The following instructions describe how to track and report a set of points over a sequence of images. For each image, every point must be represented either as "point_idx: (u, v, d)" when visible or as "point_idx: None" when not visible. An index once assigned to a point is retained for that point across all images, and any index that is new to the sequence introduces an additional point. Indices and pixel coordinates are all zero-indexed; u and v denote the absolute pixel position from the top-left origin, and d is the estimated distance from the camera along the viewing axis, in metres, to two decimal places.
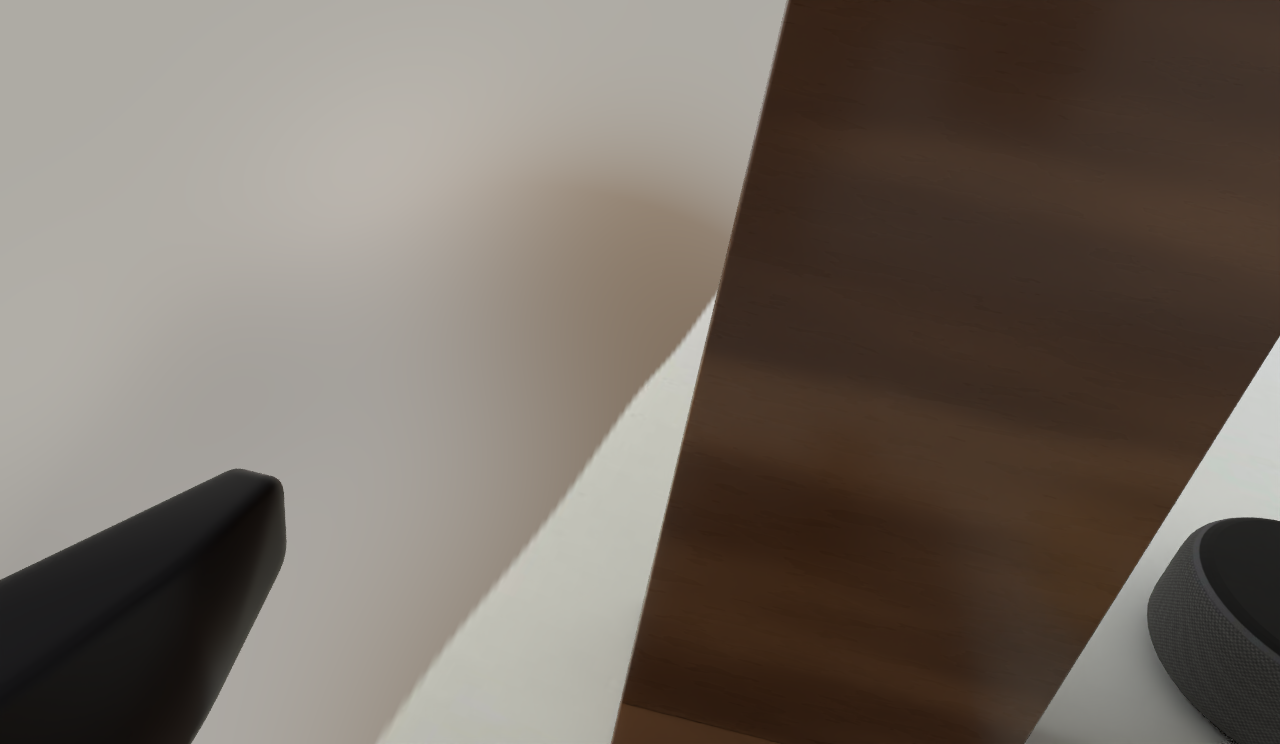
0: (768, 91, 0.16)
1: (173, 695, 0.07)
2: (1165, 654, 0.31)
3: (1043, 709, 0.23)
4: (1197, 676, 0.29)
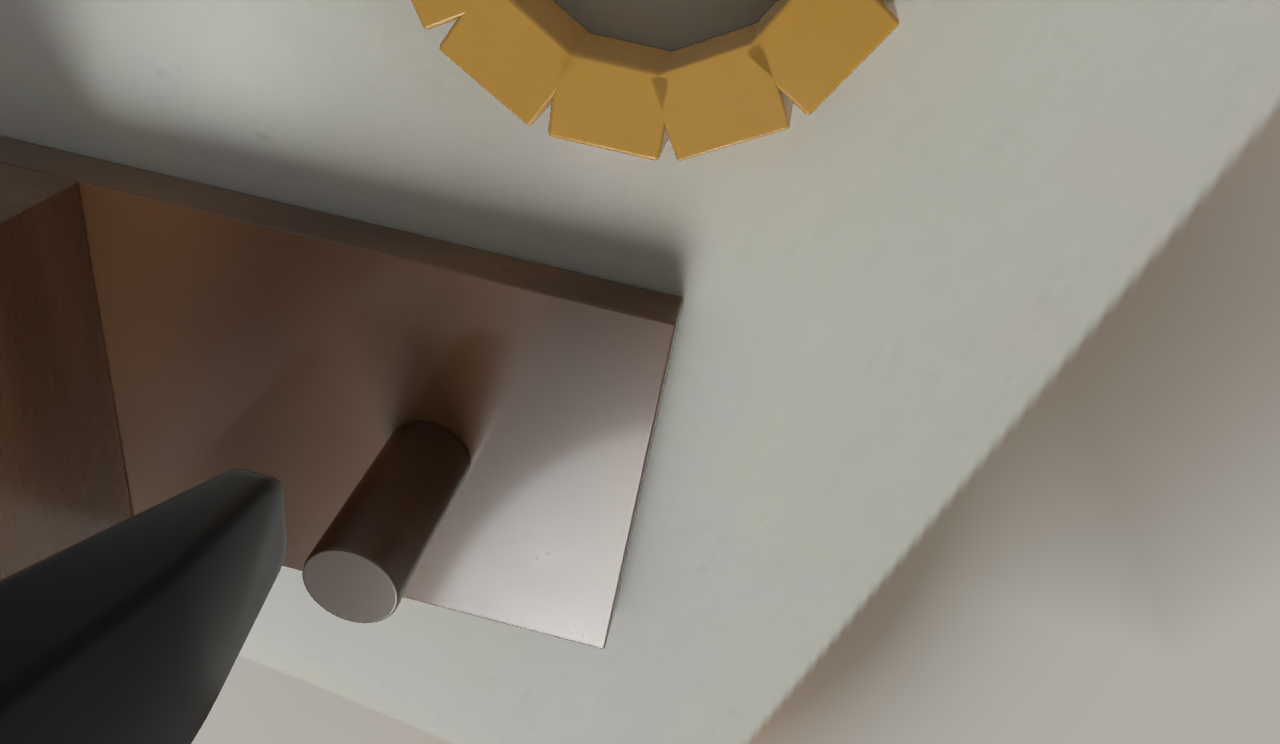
0: None
1: (173, 695, 0.07)
2: None
3: None
4: None
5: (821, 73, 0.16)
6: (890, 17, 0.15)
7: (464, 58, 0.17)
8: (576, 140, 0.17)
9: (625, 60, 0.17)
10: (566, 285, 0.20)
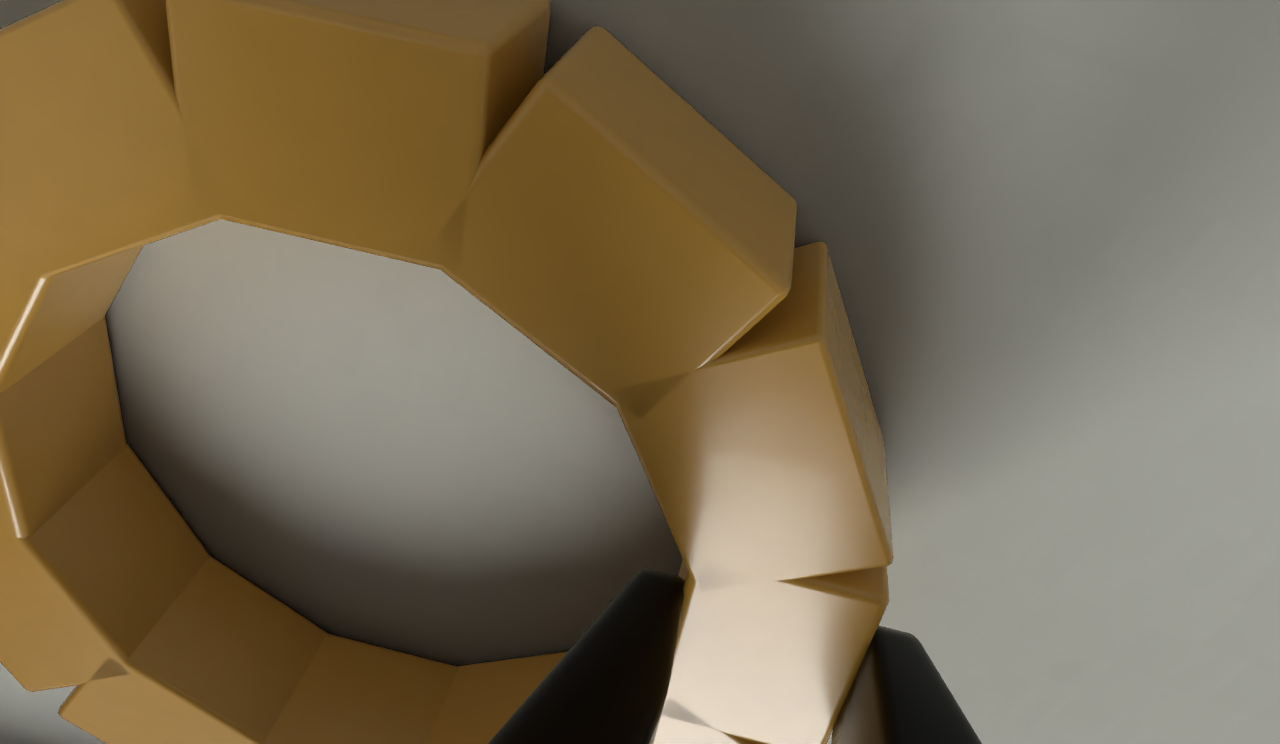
0: None
1: None
2: None
3: None
4: None
5: None
6: None
7: (99, 731, 0.10)
8: None
9: None
10: None
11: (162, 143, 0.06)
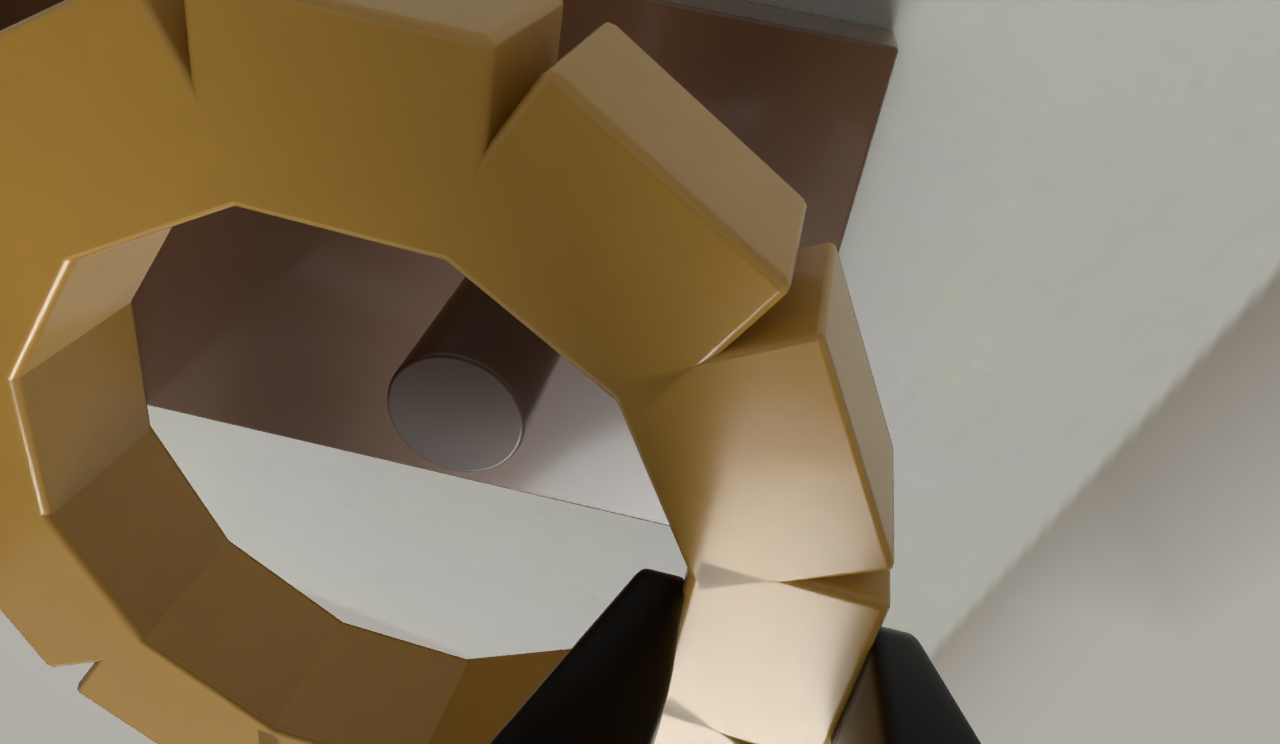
0: None
1: None
2: None
3: None
4: None
5: None
6: None
7: (115, 708, 0.11)
8: None
9: (363, 733, 0.10)
10: (736, 8, 0.14)
11: (179, 130, 0.07)
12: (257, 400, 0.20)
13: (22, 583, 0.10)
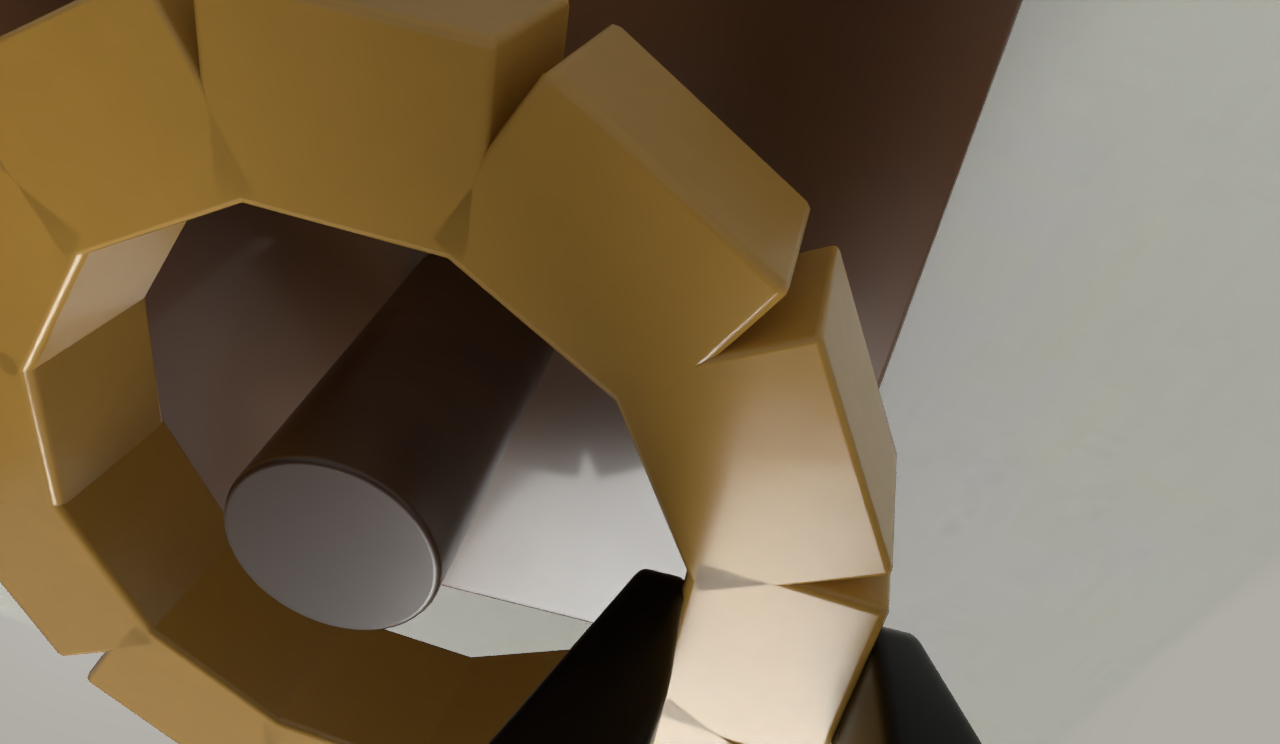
0: None
1: None
2: None
3: None
4: None
5: None
6: None
7: (124, 697, 0.11)
8: None
9: (367, 728, 0.10)
10: None
11: (188, 127, 0.07)
12: None
13: (35, 572, 0.10)
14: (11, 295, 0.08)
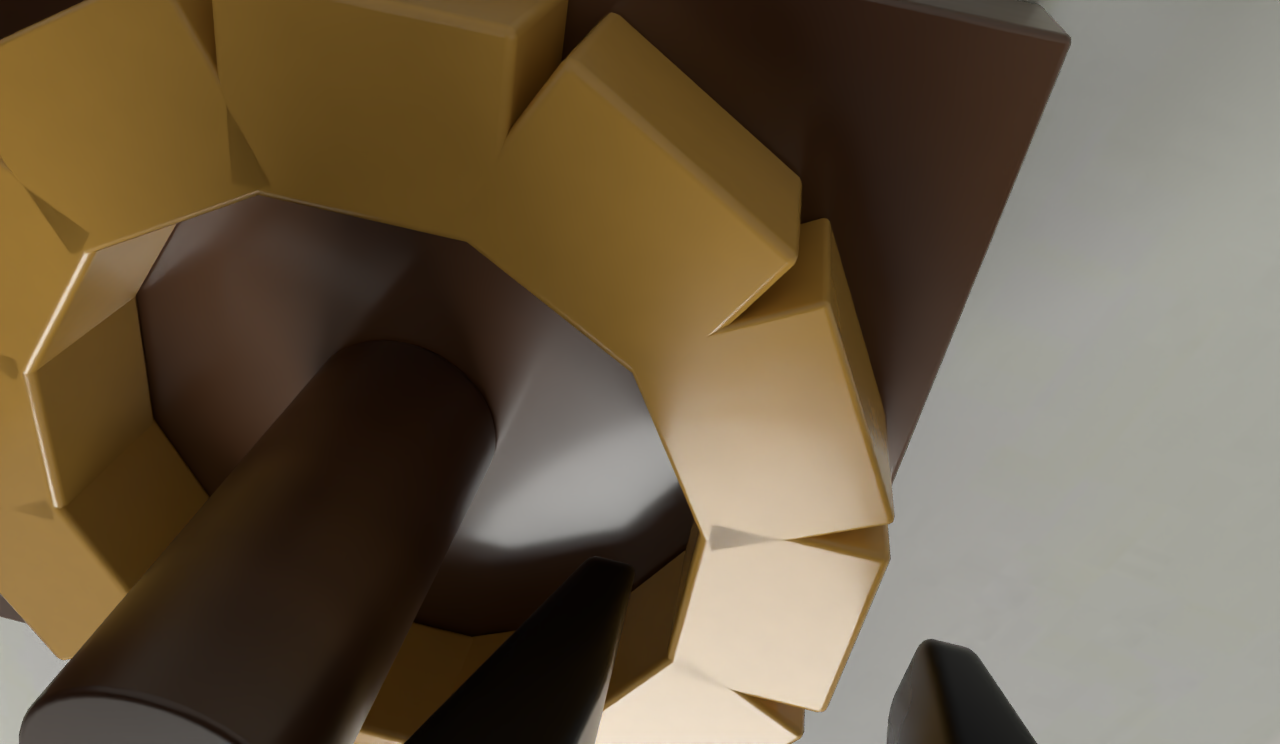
0: None
1: None
2: None
3: None
4: None
5: None
6: (788, 728, 0.09)
7: None
8: None
9: (378, 711, 0.10)
10: None
11: (204, 123, 0.07)
12: None
13: (34, 577, 0.10)
14: (14, 297, 0.08)
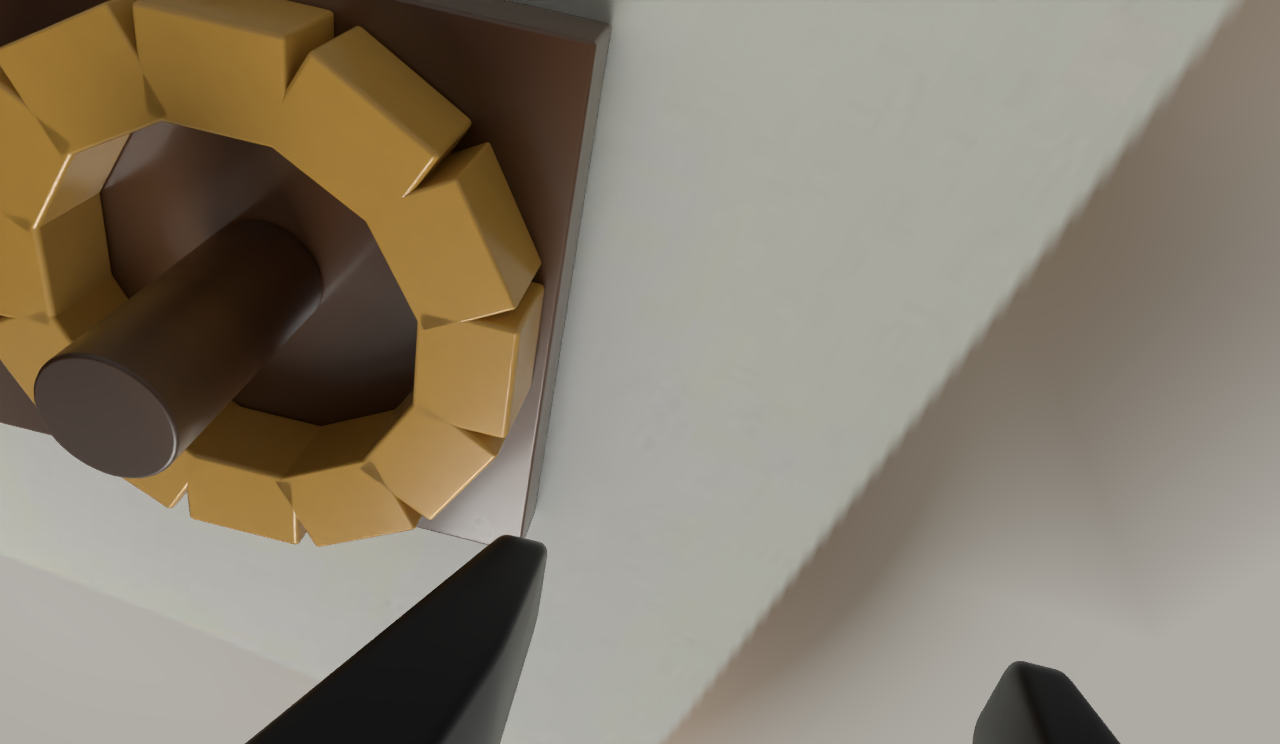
0: None
1: None
2: None
3: None
4: None
5: (434, 489, 0.16)
6: (487, 450, 0.15)
7: None
8: (217, 524, 0.17)
9: (252, 459, 0.17)
10: None
11: (132, 81, 0.13)
12: (6, 394, 0.19)
13: (36, 365, 0.16)
14: (28, 180, 0.14)
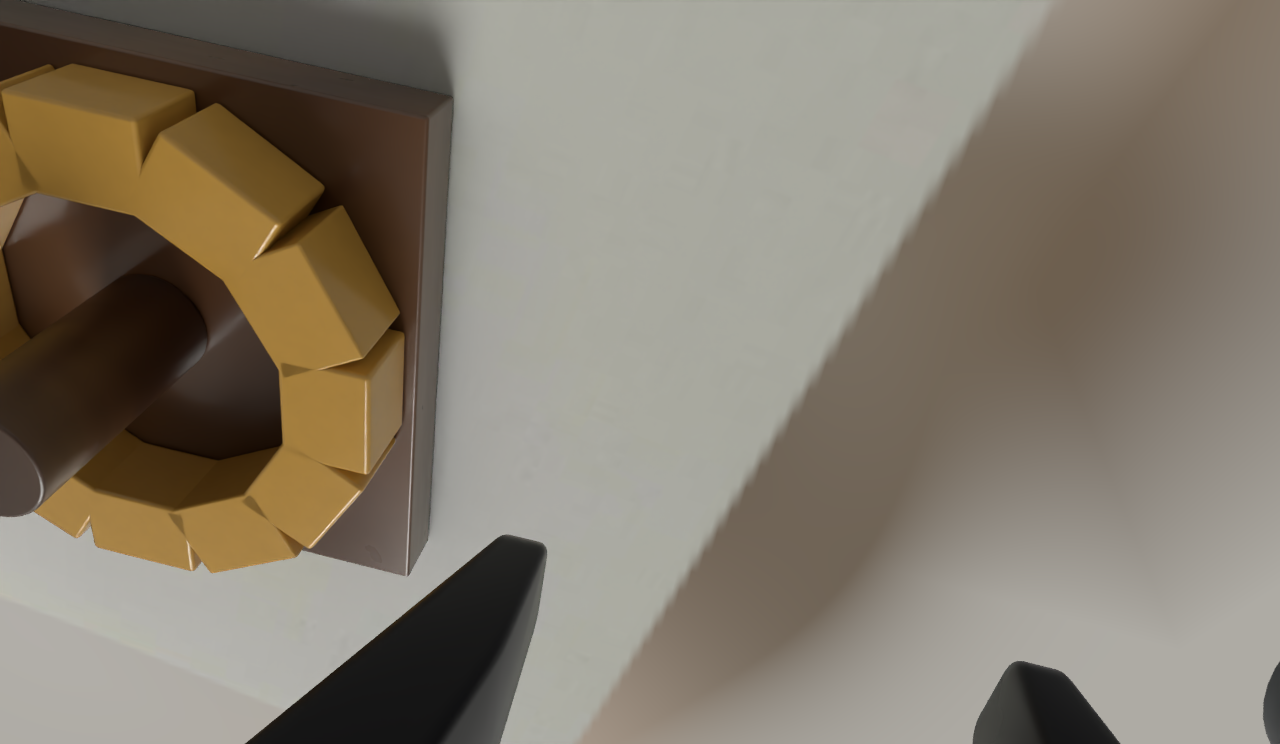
0: None
1: None
2: None
3: None
4: None
5: (309, 521, 0.17)
6: (353, 486, 0.17)
7: None
8: (120, 552, 0.19)
9: (147, 492, 0.18)
10: (291, 74, 0.15)
11: (6, 158, 0.14)
12: None
13: None
14: None
